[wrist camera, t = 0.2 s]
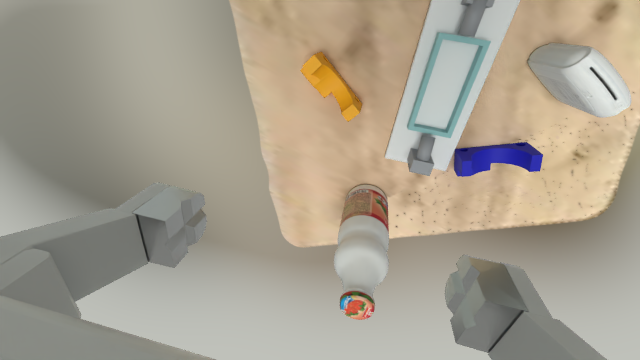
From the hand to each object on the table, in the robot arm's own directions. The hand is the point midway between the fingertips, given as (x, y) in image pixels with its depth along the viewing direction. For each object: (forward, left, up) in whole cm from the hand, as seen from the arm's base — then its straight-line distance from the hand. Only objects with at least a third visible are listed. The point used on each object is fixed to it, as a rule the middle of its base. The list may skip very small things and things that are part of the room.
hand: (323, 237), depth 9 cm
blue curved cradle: (+12, +26, -47) cm, 55 cm away
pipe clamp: (+5, -6, -47) cm, 48 cm away
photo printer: (-4, +29, -47) cm, 55 cm away
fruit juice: (+28, +6, -47) cm, 55 cm away
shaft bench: (+1, +13, -47) cm, 48 cm away
